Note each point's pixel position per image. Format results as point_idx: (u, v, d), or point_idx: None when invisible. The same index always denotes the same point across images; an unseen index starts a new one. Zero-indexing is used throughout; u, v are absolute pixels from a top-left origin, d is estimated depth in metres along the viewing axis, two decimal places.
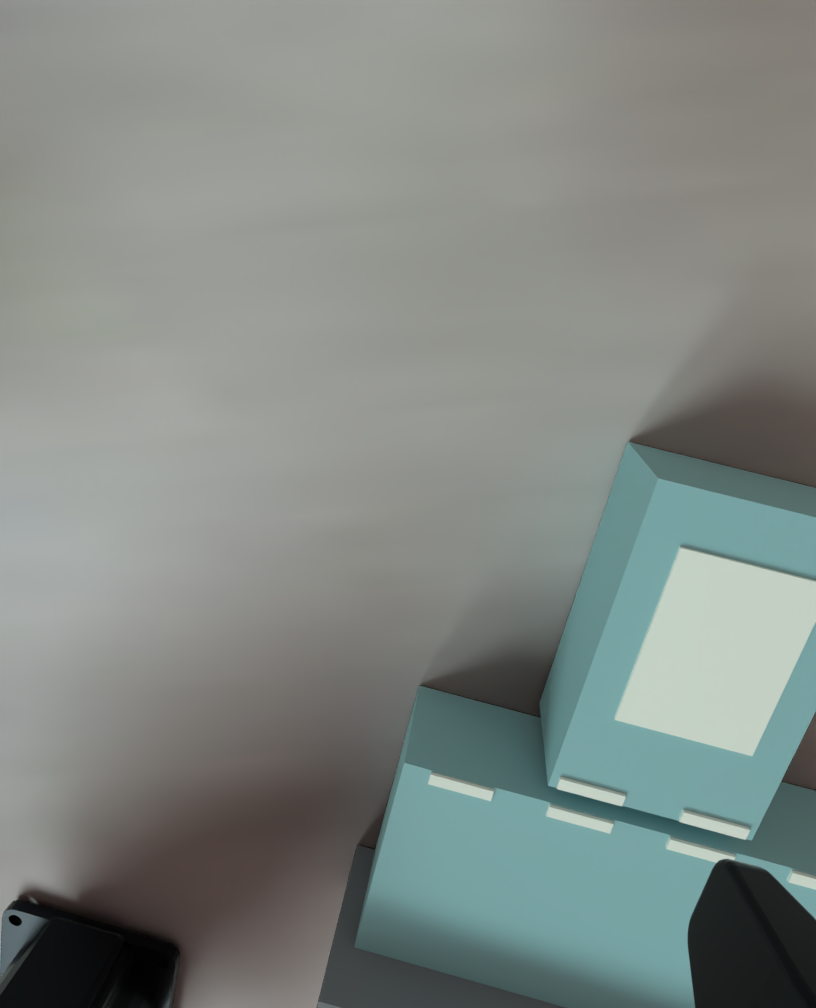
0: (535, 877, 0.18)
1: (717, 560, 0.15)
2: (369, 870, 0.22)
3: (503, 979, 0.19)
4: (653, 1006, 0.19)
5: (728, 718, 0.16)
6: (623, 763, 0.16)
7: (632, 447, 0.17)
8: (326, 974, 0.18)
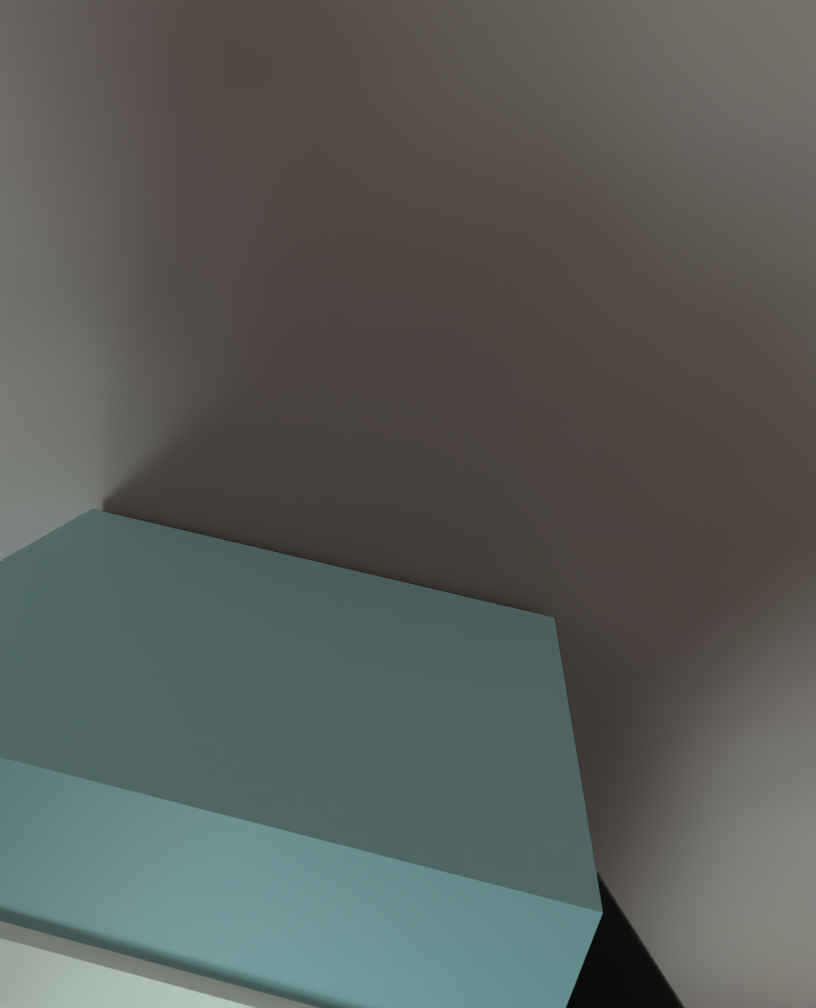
0: None
1: (38, 943, 0.04)
2: None
3: None
4: None
5: None
6: None
7: (58, 529, 0.07)
8: None
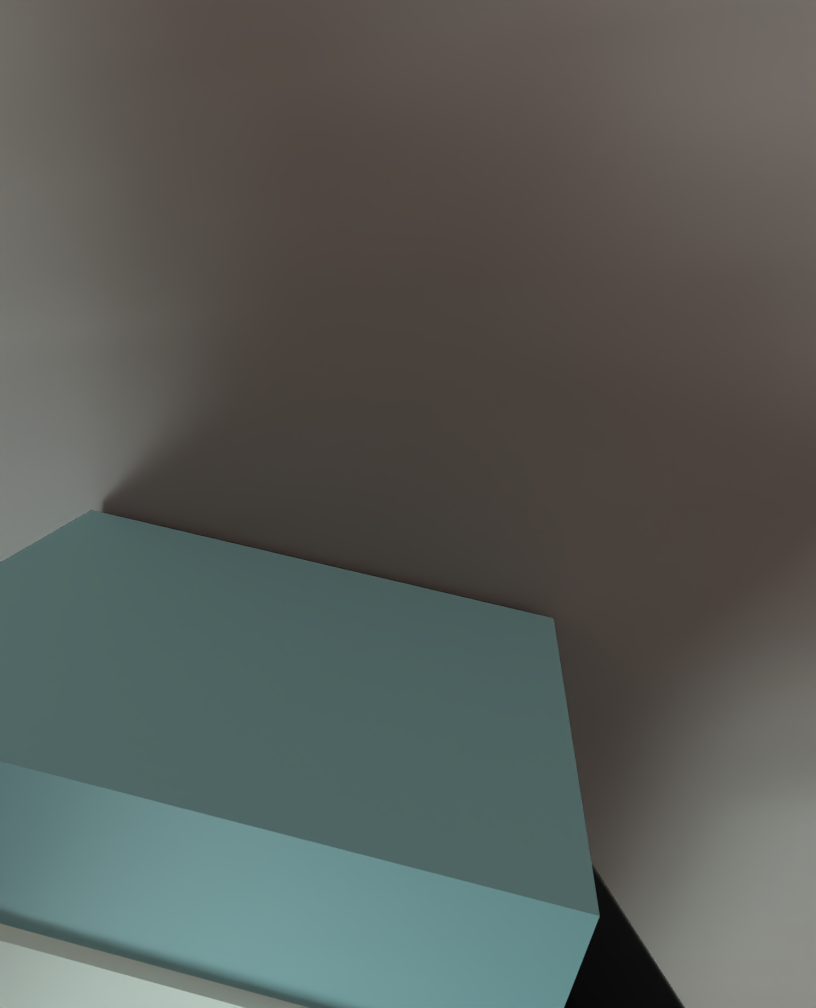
0: None
1: (37, 946, 0.04)
2: None
3: None
4: None
5: None
6: None
7: (57, 531, 0.07)
8: None
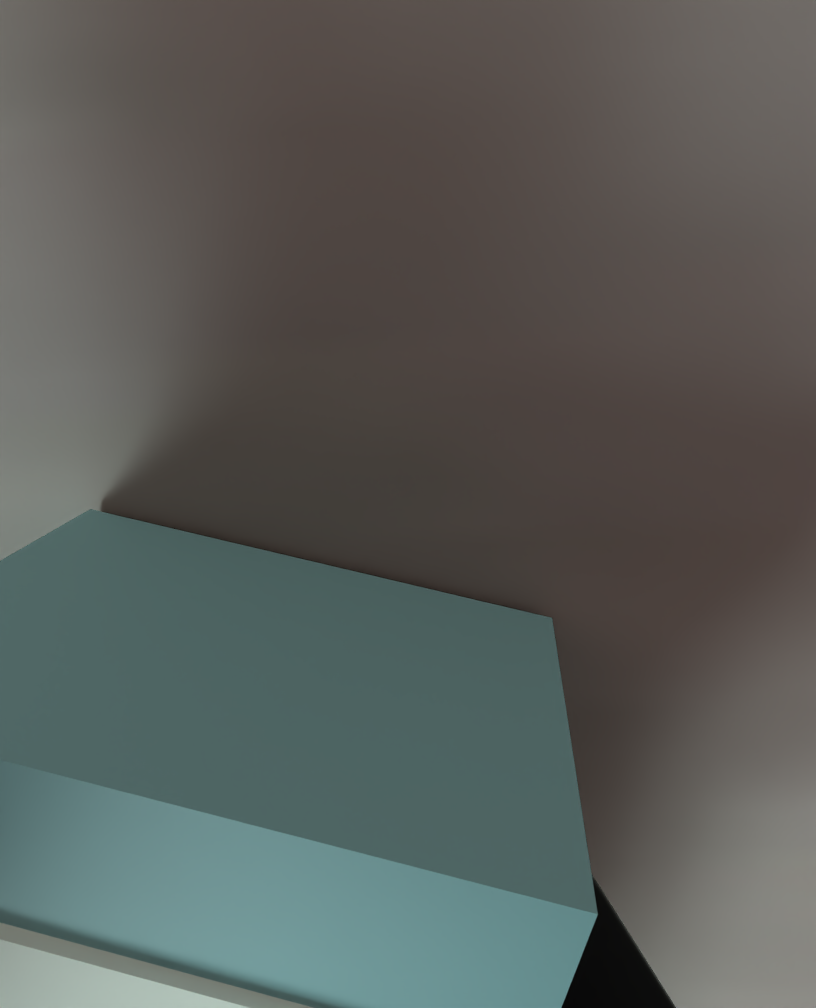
0: None
1: (35, 944, 0.04)
2: None
3: None
4: None
5: None
6: None
7: (56, 530, 0.07)
8: None
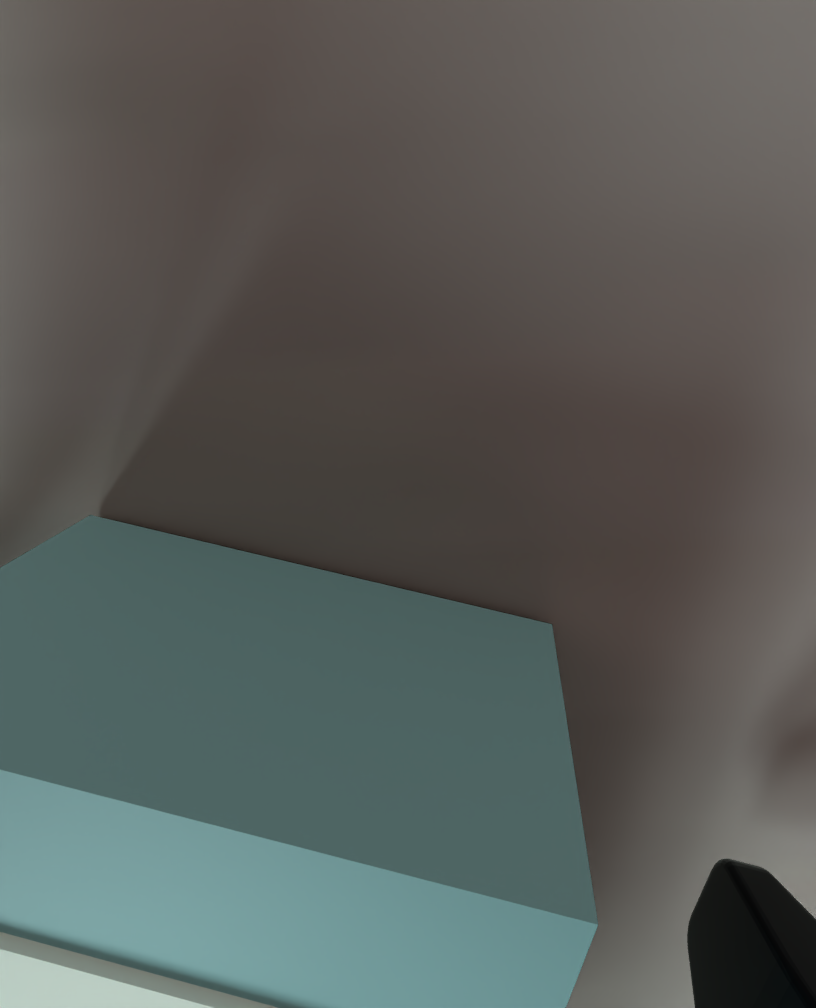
0: None
1: (34, 954, 0.04)
2: None
3: None
4: None
5: None
6: None
7: (56, 536, 0.07)
8: None
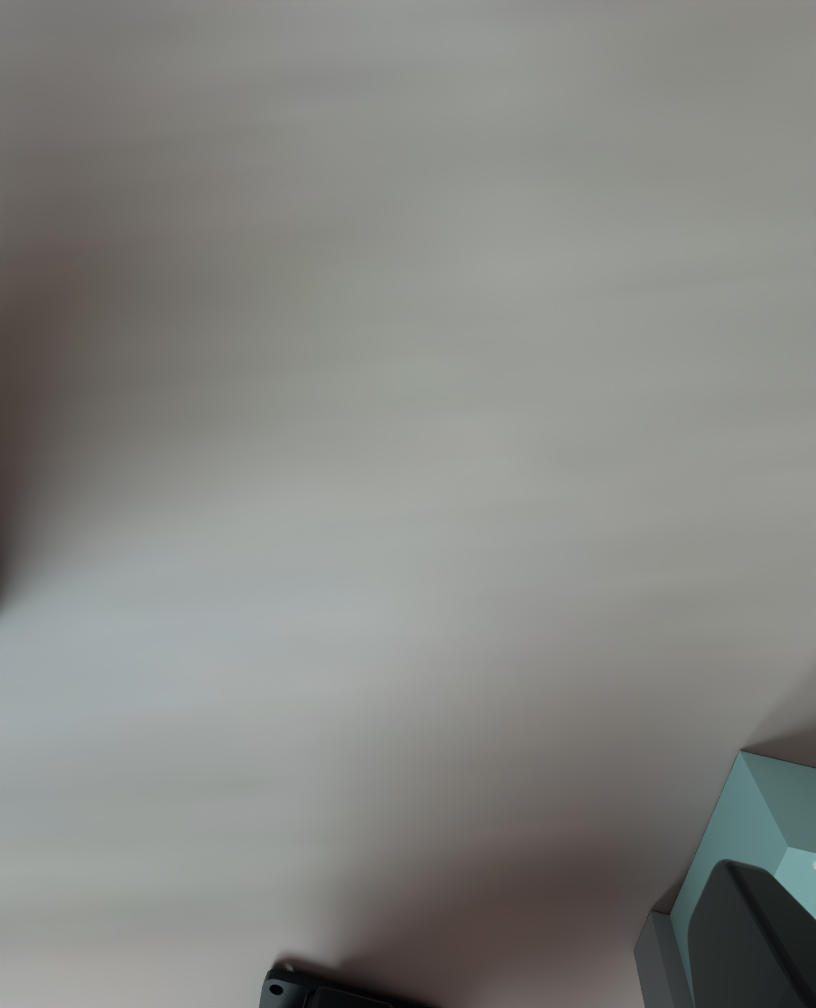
0: None
1: None
2: (675, 939, 0.21)
3: None
4: None
5: None
6: None
7: None
8: None
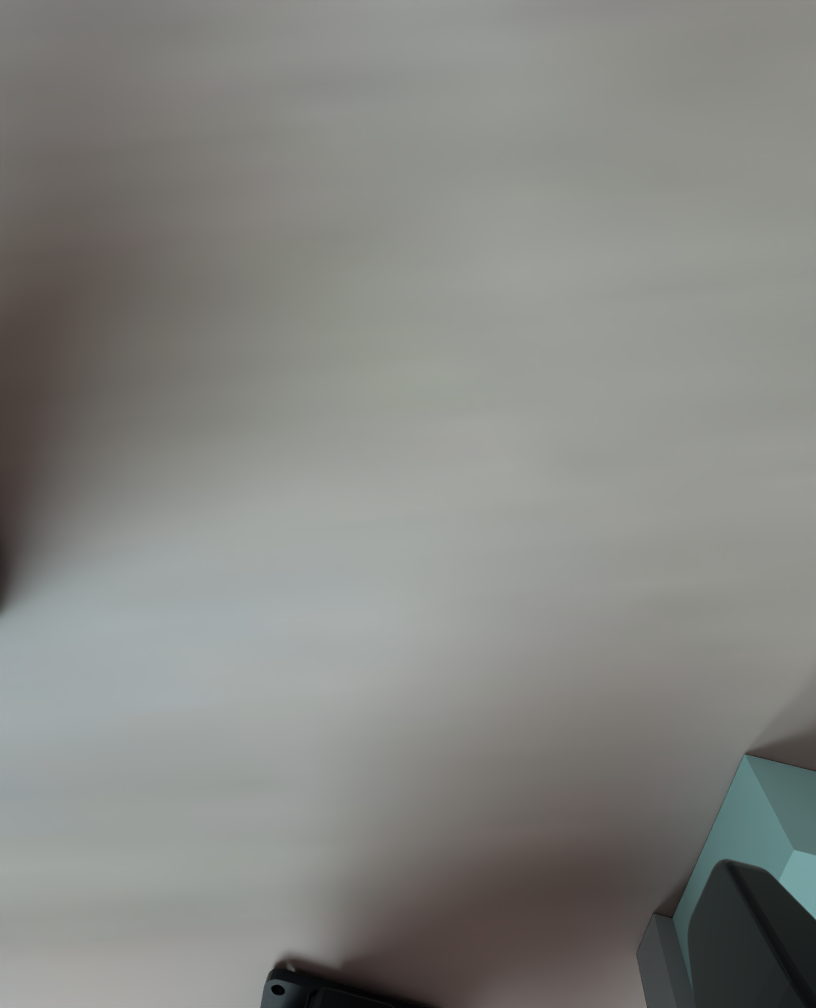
0: None
1: None
2: (678, 942, 0.21)
3: None
4: None
5: None
6: None
7: None
8: None
